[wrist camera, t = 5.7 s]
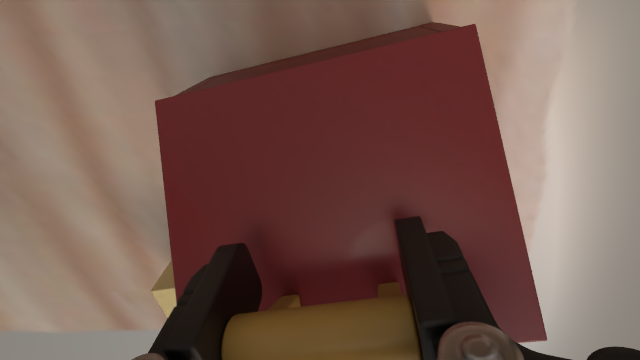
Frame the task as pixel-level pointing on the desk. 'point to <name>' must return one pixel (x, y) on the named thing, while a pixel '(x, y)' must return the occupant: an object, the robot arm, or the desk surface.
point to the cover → (346, 195)
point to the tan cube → (165, 290)
